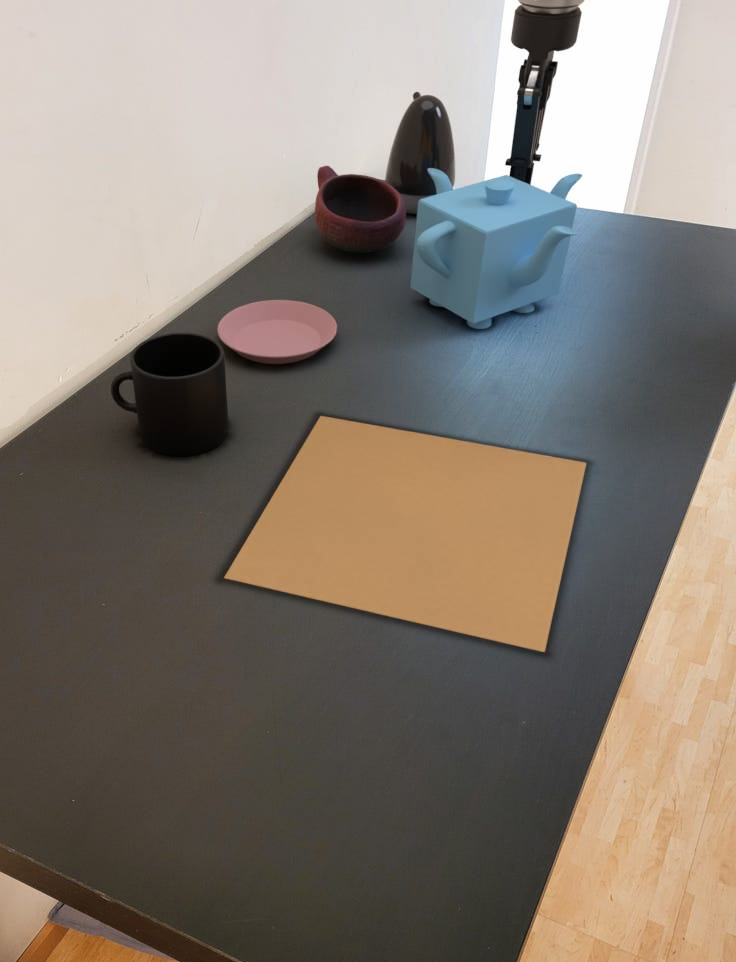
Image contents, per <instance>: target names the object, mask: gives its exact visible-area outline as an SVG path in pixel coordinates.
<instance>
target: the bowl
mask: <svg viewBox="0 0 736 962" xmlns="http://www.w3.org/2000/svg"><path fill="white" fill-rule="evenodd" d="M316 178H317V187H318V191H317V194H316V198H315V204H314V222H315V227H316V229H317V232H318V233H319V235H320V236H321V238H322V239H323V240H324V241H325V242H326V243H327V244H329V245H330V246H333V248H336V249H339V250H342V251H345V252H349V253H356V254H363V253H364V254H365V253H371V252H375V251H379V250H382V249H384V248H386V247H389V246H390V245H392V244H393V243H394V242H395V241H397V239H398V238H399V237H400V236H401V233H402V232H403V230H404V229H405V225H406V223H407V222H406V220H407V212H406V211H405V205H404V201H403V199H402V196H401V195H400V194H399V193H398V191H397V190H395V189H394V188H393V187H392V186H391V185H389V184H388V183H386V182H385V180H381V179H379V178H376V177H373V176H370V175H365V174H354V173H346V174H340V175H339V174H338V173H337V172H335V170H334V169H333V168H332V167H331V166H330V165H322V166H320V167H319V168H318V170H317V176H316Z"/></svg>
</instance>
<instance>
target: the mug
mask: <svg viewBox="0 0 736 962" xmlns="http://www.w3.org/2000/svg"><path fill="white" fill-rule="evenodd" d="M130 353H131V354H130V357H129V362H130V369H129V370H126V371H122V372H120V373H119V374H117V375H116V376H115V377H114V378H113V380H112V382H111V385H110V395H111V397H112V399H113V401H114V402H115V404H116V405H117V406H118V407H120V408H121V409H123V410H125V411H127V412H131V413H134V414H136V415H137V422H138V423H137V424H138V429H139V436H140V439H141V441H143V443H144V444H145V445H146V446H147V447H148V448H149V449H151V450H152V451H154V452H157V453H159V454H163V455H167V456H175V457H176V456H177V457H181V456H183V457H187V456H193V455H199V454H202V453H205V452H208V451H211V450H212V449H214V448H216V447H217V446H218V445H220V444H221V443H222V442H223V441H224V440H225V438H226V436H227V434H228V432H229V414H228V398H227V397H228V396H227V379H226V378H227V377H226V361H225V360H226V359H225V351H224V348H223V346H222V345H221V344H220V343H219V342H218V341H217V340H216V339H214V338H212V337H210V336H208V335H204V334H201V333H196V332H169V333H163V334H160V335H154V336H152V337H150V338H148V339H146V340H143V341H142V342H140V343H139V344H138V345H136V346H135V347H134V348H133V350H132V351H131V352H130ZM128 380H129V381H132V385H133V393H134V402H130V401H127V400H126V399H125V398H124V397H123V396H122V394H121V391H120V386H121V384H123V382H125V381H128Z"/></svg>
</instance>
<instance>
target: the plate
mask: <svg viewBox="0 0 736 962" xmlns="http://www.w3.org/2000/svg"><path fill="white" fill-rule="evenodd" d="M337 333H338V324H337V322H336V319H335V318H334V317H333V316H332V315H331V314H330V313H329V312H328V311H327V310H325V309H323V308H321V307H318V306H317V305H314V304H311V303H307V302H305V301H304V302H303V301H298V300H291V299H289V300H288V299H270V300H259V301H254V302H252V303H248V304H244V305H241V306H238V307H237V308H234V309H232V310H230V311H229V312H228V313H226V314H225V315H223V317H222V318H221V320H220V321H219V322H218V325H217V336H218V337H219V340H221V342H222V343H223V344H224V345H226V346H227V347H228V348H230V349H231V350H232V351H234V352H235V353H236V354H238V355H239V356H241V357H243V358H244V359H247V360H249V361H252V362H255V363H259V364H261V363H262V364H266V365H269V364H270V365H283V364H284V365H285V364H292V363H297V362H300V361H303V360H306V359H308V358H310V357H312V356H314V355H315V354H317V353H318V352H319V351H320V350H322V349H323V348H324V347H326V346H327V345H329V343H331V342H332V341H333V339H334V338H335V337H336V335H337Z"/></svg>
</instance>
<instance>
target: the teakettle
mask: <svg viewBox="0 0 736 962" xmlns="http://www.w3.org/2000/svg"><path fill="white" fill-rule="evenodd" d="M428 173H429V174H430V176H431V177H432V179H433V181H434V184H435V187H436V192H437V195H434V196H430V197H427V198H424V199H421V200H419V201H418V211H417V214H416V221H415V222H416V223H415V233H414V244H413V253H412V265H411V273H410V274H411V277H410V287H409V288H410V289H412V290H414V291H416V292H417V293H419V294H420V295H422V296H424V297H426V298H428V299H429V303H430V304H431V305H433V306H435V307H439V308H441V307H442V308H445V309H447V310H449V311H451V312H452V313H453V314H455V315H457V316H458V317H461V318H462V319H464V320H466V325H468V326H469V327H471V328H473V329H478V330H482V329H488V328H490V327H491V326H492V318H493V317H496V316H499V315H502V314H505V313H508V312H511V311H513V312H516V313H519V314H528V313H532V312H534V311H535V306H534V304H533V303H536V302H539V301H541V300H544V299H547V298H549V297H552V296H555V295H558V294H559V293H560V287H561V283H562V280H563V279H562V278H563V273H564V270H565V264H566V259H567V254H568V251H569V245H570V241H571V236H575V235H578V233H579V232H578V231H577V230H575V229H574V228H573V227H574V222H575V216H576V212H577V208H578V205H577V203H575V202H572V201H569V200H567V199H566V198H567V196H568V195H569V193H570V191H571V190H572V188H573V187H574V185H576V183H578V181H580V180H581V179H582V177H583V174H582V173H572V174H568V175H565V176H563V177H562V178H560V179H559V180H558V181H557V183H555V185H554V186H553V187H552V189H551V190H550V192H548V191H546V190H544V189H541V188H539V187H536V186H535V185H533V184H531V185H530V184H527V183H525V182H522V181H520V180H517V179H515V178H512V177H510V176H509V175H508V174H505V175H500V176H497V177H494V178H489V179H486V180H483V181H480V182H476V183H472V184H469V185H465V186H462V187H459V188H455V189H454V187H453V188H452V185H451V182H450V180H449V178H448V176H447V175H446V174H445V173H444V172H442V171H440V170H438V169H434V168H429V169H428Z"/></svg>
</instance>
